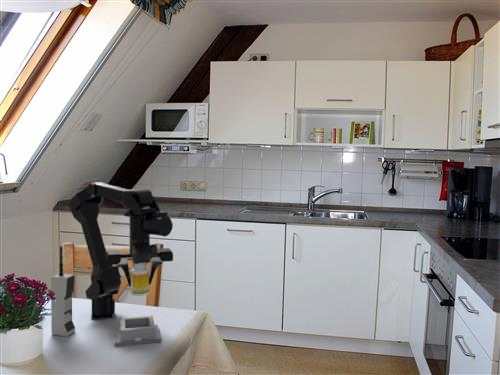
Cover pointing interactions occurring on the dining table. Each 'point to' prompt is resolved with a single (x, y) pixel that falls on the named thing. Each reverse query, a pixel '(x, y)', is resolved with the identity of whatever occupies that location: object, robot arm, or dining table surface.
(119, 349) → the dining table surface
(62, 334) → the vintage mobile phone
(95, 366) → the dining table surface
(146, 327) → the charging dock
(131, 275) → the supplement bottle
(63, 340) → the dining table surface
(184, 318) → the dining table surface
